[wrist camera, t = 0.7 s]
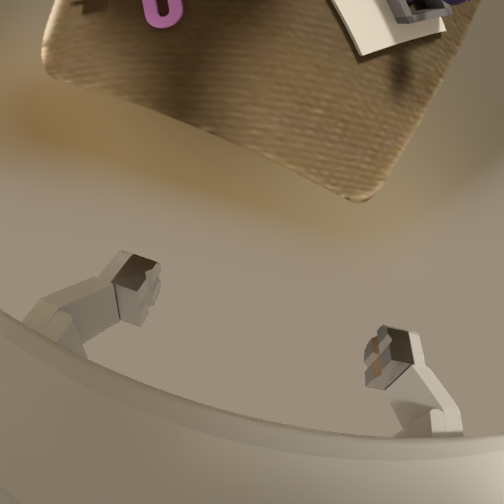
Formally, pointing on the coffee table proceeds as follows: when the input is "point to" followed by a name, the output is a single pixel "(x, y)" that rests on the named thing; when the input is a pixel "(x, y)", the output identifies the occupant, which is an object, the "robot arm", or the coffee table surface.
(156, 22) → the bracket
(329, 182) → the coffee table surface
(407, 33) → the socket board
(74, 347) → the robot arm
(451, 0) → the toy lamp
